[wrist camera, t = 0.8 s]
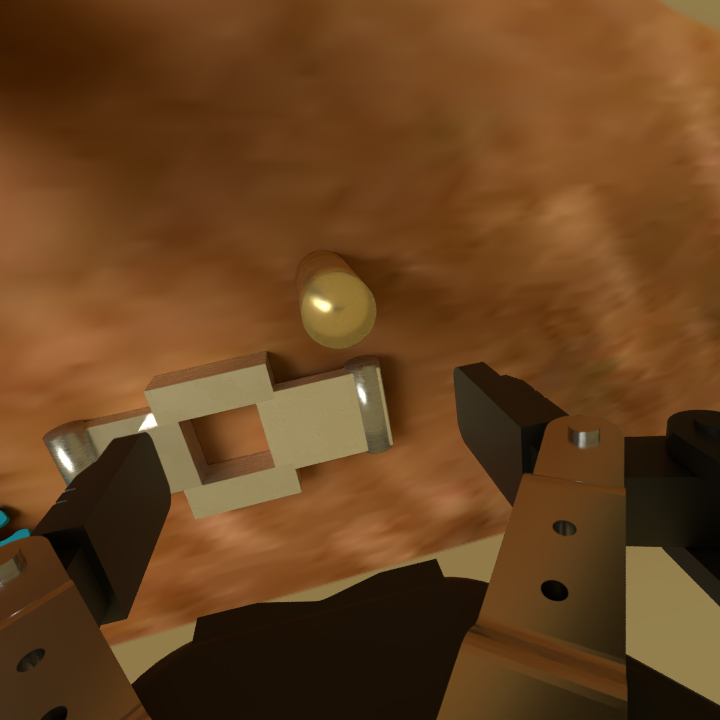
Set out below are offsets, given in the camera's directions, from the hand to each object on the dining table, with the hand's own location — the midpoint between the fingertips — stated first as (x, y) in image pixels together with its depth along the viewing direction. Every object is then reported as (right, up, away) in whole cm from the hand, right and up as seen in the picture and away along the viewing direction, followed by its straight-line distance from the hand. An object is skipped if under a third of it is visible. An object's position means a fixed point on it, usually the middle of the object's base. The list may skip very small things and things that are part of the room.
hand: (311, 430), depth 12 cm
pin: (-1, +7, +17) cm, 19 cm away
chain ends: (-8, -3, +20) cm, 22 cm away
